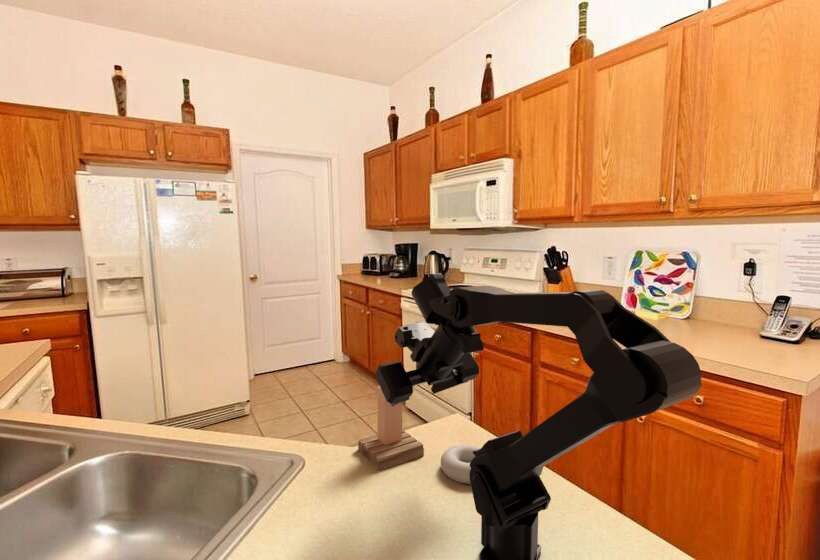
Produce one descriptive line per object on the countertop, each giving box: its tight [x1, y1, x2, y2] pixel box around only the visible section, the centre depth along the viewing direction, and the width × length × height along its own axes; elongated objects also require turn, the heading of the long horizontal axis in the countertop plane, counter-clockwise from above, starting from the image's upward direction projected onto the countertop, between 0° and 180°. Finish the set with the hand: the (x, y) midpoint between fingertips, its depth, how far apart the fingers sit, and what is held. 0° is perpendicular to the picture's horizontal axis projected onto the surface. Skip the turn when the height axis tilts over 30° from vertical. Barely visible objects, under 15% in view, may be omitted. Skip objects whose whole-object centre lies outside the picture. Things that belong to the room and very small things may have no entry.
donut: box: [440, 444, 482, 485], centre depth 73 cm, size 10×4×10 cm
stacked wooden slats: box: [357, 428, 425, 471], centre depth 80 cm, size 9×10×2 cm
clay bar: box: [376, 385, 403, 445], centre depth 80 cm, size 3×4×11 cm
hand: (412, 397), depth 73 cm, fingers open, 9 cm apart
